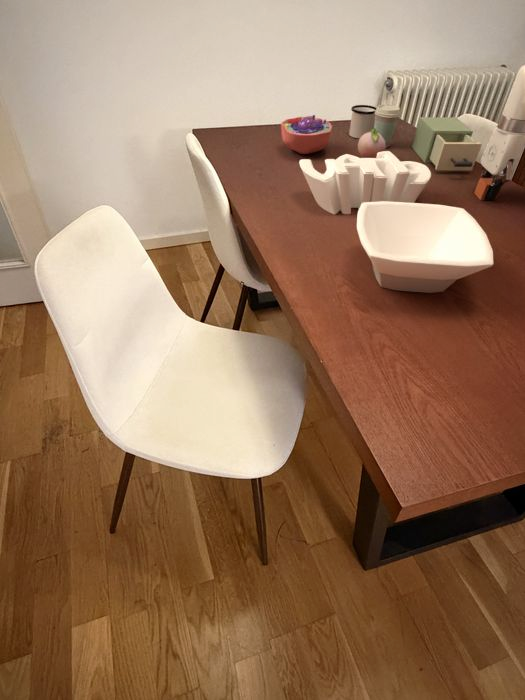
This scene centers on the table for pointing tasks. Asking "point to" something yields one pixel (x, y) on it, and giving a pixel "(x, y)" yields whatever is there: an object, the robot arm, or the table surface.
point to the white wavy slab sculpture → (364, 181)
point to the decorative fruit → (371, 144)
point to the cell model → (305, 134)
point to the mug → (361, 120)
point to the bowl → (421, 244)
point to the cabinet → (435, 126)
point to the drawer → (454, 152)
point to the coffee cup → (386, 121)
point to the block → (483, 187)
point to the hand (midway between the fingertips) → (485, 194)
